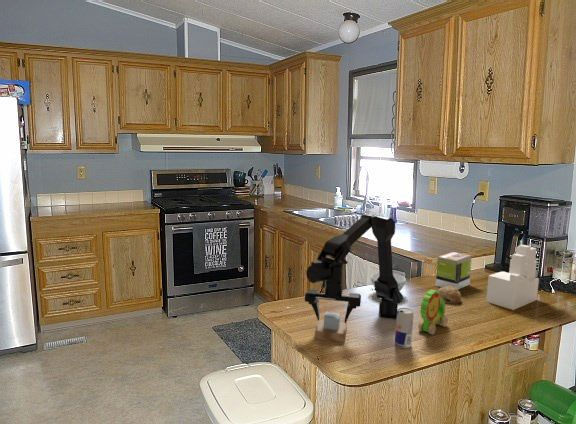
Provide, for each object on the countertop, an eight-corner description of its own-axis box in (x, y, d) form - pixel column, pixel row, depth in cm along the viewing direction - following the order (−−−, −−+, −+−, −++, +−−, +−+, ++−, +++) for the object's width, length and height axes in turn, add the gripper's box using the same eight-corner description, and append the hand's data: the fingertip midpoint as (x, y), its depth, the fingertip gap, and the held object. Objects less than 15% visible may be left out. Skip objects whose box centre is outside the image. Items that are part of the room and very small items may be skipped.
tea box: (450, 280, 226) (453, 251, 223) (470, 285, 218) (473, 255, 216) (434, 286, 215) (437, 255, 213) (454, 291, 208) (457, 260, 206)
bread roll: (434, 308, 196) (435, 294, 192) (437, 292, 204) (438, 278, 200) (459, 312, 193) (460, 298, 189) (460, 295, 201) (462, 281, 196)
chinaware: (392, 287, 211) (393, 271, 210) (411, 298, 197) (412, 281, 196) (363, 290, 205) (364, 274, 204) (381, 301, 192) (382, 284, 190)
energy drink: (392, 341, 153) (394, 307, 151) (407, 341, 154) (410, 307, 152) (397, 348, 148) (400, 313, 146) (413, 348, 149) (416, 313, 147)
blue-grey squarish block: (339, 324, 159) (340, 313, 158) (338, 330, 154) (338, 318, 153) (325, 322, 160) (325, 312, 159) (323, 328, 155) (324, 317, 154)
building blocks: (513, 310, 187) (519, 250, 183) (485, 301, 196) (491, 245, 192) (536, 300, 200) (543, 244, 196) (509, 292, 209) (515, 239, 205)
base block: (346, 330, 161) (347, 322, 161) (344, 342, 151) (345, 333, 151) (318, 327, 163) (318, 319, 163) (314, 339, 153) (315, 330, 153)
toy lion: (434, 321, 172) (437, 282, 170) (448, 325, 168) (451, 286, 166) (414, 333, 161) (417, 292, 158) (428, 338, 157) (432, 296, 154)
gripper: (362, 273, 160) (360, 315, 163) (310, 269, 164) (308, 310, 166) (361, 282, 149) (358, 327, 152) (305, 278, 153) (303, 322, 155)
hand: (331, 321), depth 157 cm, fingers open, 9 cm apart
